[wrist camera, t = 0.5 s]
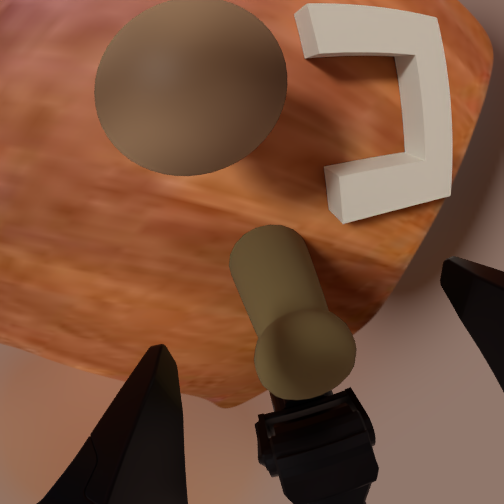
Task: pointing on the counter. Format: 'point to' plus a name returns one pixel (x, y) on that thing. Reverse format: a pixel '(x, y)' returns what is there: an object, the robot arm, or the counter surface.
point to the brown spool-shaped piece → (190, 86)
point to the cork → (290, 315)
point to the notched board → (412, 101)
